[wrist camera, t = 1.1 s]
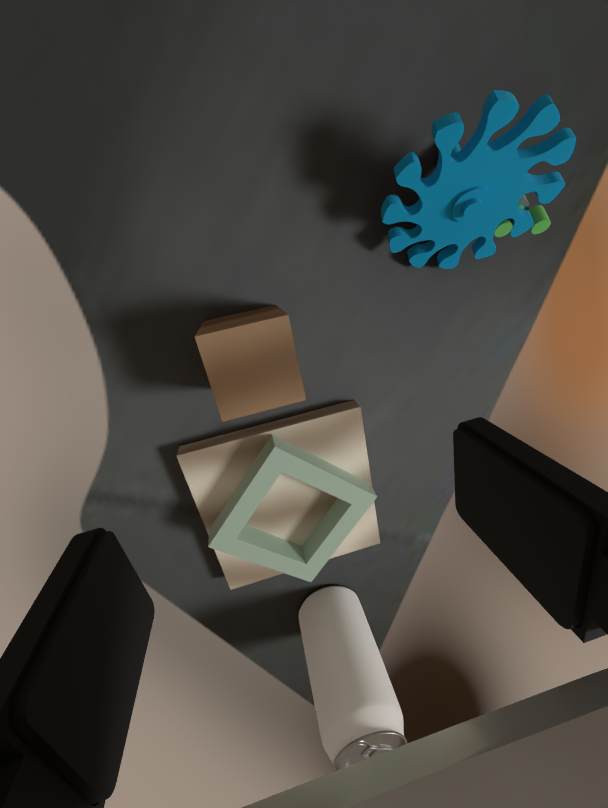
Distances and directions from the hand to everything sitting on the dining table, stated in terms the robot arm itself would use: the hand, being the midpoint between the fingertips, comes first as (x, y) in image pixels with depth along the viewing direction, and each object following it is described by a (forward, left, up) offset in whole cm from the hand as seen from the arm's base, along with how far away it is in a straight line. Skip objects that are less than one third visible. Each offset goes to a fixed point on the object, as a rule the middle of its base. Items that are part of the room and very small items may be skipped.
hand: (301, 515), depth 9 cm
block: (-1, 0, -17) cm, 17 cm away
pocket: (+12, 0, -15) cm, 19 cm away
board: (+12, 0, -17) cm, 21 cm away
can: (+27, +1, -17) cm, 32 cm away
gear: (-7, +15, -17) cm, 24 cm away
